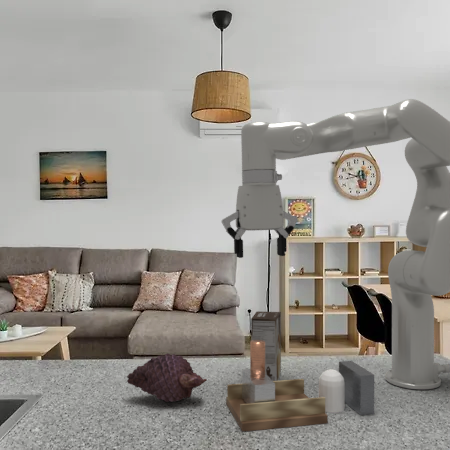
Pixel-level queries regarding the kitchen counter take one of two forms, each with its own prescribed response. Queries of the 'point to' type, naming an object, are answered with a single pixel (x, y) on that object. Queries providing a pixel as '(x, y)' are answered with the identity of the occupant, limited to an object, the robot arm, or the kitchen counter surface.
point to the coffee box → (269, 340)
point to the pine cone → (166, 378)
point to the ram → (257, 377)
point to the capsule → (332, 391)
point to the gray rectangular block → (358, 387)
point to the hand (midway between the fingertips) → (260, 256)
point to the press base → (277, 407)
